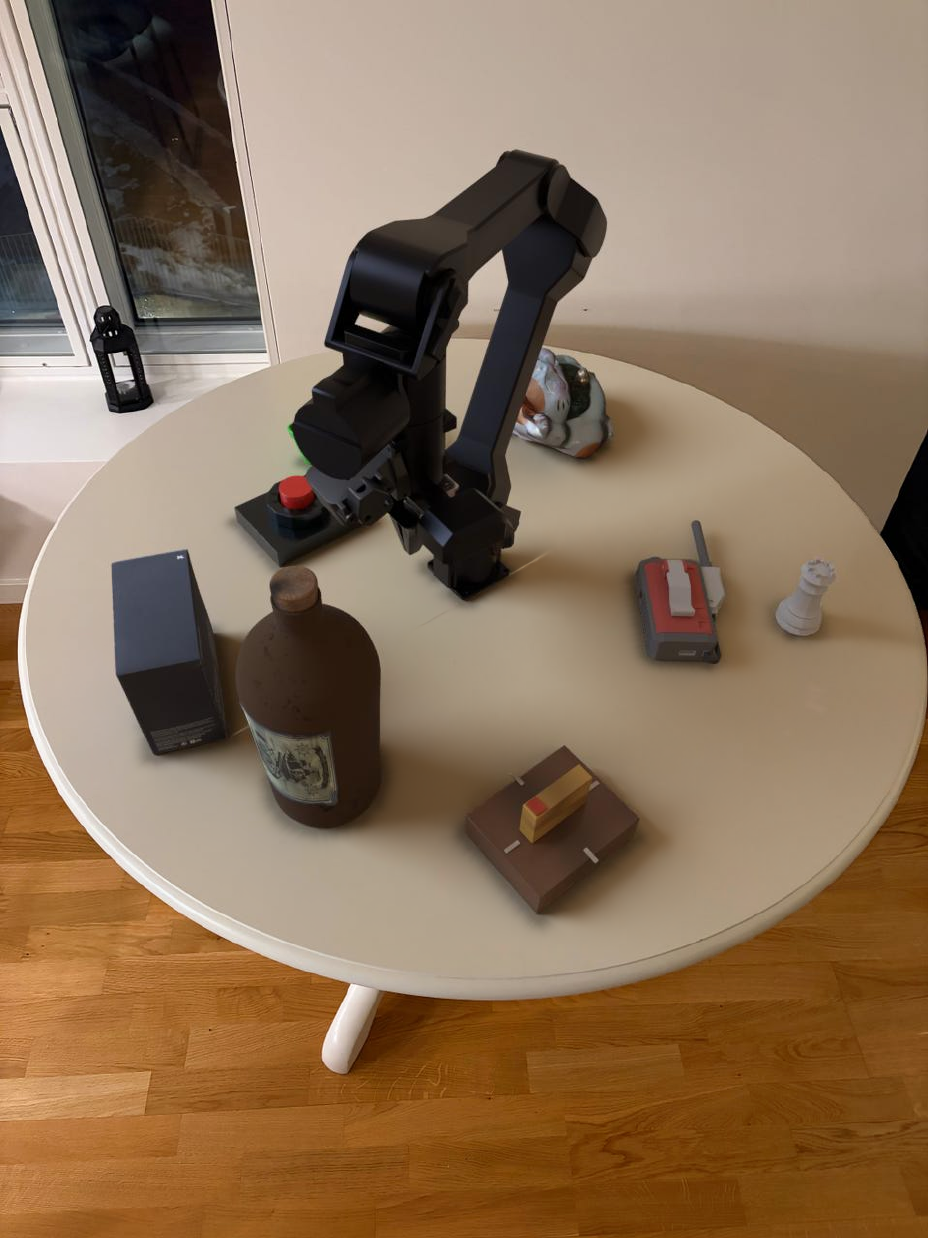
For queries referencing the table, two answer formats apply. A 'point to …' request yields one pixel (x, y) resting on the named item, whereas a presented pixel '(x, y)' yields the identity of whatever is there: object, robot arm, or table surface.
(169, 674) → the small box
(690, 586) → the walkie-talkie
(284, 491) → the button
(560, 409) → the lucky cat figurine
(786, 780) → the table surface
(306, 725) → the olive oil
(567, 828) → the panel
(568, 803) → the rod knob
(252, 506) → the button block
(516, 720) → the table surface
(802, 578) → the rook chess piece
